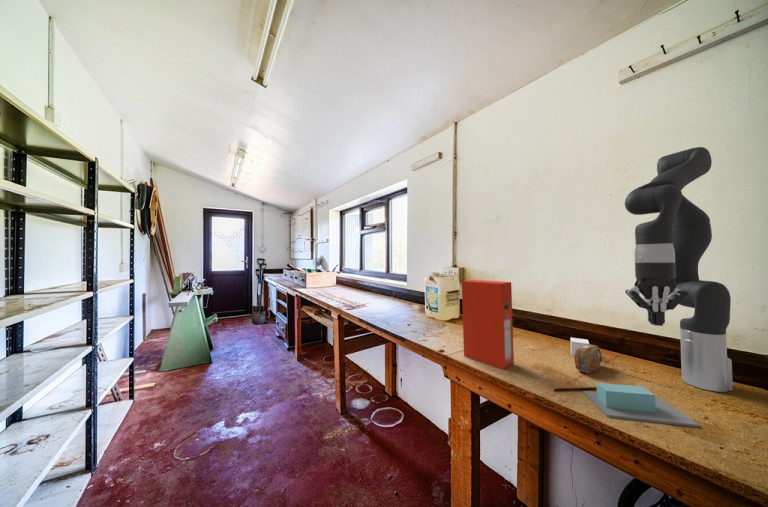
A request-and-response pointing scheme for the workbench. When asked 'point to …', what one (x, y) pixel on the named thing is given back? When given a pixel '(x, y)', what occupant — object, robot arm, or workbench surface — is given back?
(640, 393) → the block
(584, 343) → the white cube
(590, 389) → the dark brown rod
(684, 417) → the mat
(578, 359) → the tin
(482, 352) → the file binder
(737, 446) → the workbench surface
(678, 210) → the robot arm
